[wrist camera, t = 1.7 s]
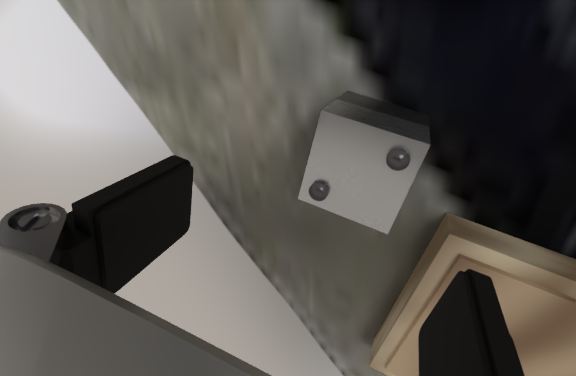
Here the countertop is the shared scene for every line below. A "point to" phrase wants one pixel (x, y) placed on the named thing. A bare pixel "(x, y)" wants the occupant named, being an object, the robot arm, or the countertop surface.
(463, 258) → the beech stand
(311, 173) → the block
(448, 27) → the countertop surface
